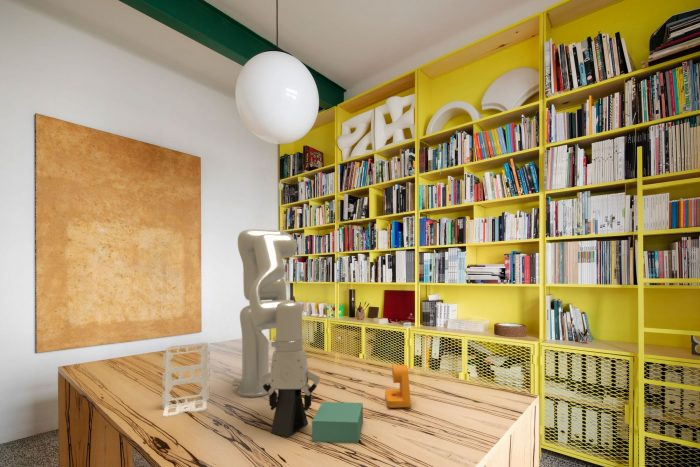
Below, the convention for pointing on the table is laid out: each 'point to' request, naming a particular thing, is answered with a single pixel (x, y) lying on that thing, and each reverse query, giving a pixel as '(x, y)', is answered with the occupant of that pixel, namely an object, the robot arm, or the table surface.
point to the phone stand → (289, 413)
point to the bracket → (399, 395)
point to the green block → (338, 422)
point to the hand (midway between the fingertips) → (290, 408)
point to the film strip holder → (185, 381)
